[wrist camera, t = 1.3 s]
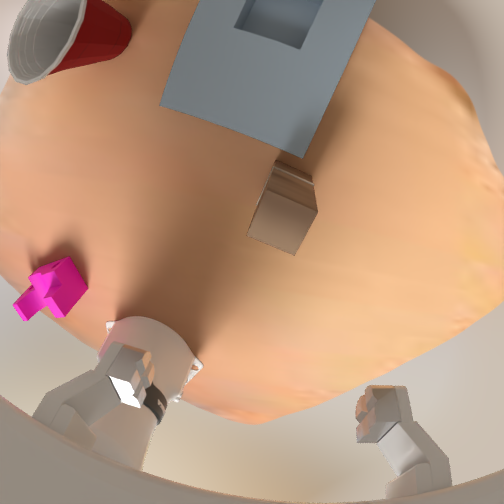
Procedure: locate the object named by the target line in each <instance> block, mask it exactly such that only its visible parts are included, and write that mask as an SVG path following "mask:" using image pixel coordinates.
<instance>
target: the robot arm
mask: <svg viewBox="0 0 504 504" xmlns="http://www.w3.org/2000/svg"><path fill="white" fill-rule="evenodd" d="M106 327H107V332H108V335H107V337H106V339H105V340H104V342H103V344H102V346H101V348H100V350H99V352H98V354H97V359H98V365H97V367H96V368H95V370H94V371H93V370H89V371H88V372H86V373H84V374H82V375H80V376H78V377H76V378H74V379H72V380H70V381H69V382H67V383H65V384H63V385H61V386H59V387H57V388H55V389H53V390H51V391H49V392H48V393H46V395H45V396H44V398H43V399H42V401H41V403H40V404H39V406H38V408H37V409H36V411H35V413H34V414H33V416H32V417H31V416H29V415H28V414H26V413H25V412H23V411H22V410H20V409H19V408H18V407H16V406H15V405H13V404H12V403H11V402H9V401H8V400H6V399H5V398H4V397H2V396H1V395H0V504H504V469H502V470H500V471H497V472H495V473H492V474H489V475H486V476H484V477H481V478H478V479H475V480H472V481H469V482H465V483H462V484H459V485H455V486H452V480H451V472H450V465H449V458H448V457H447V456H446V455H445V453H444V452H443V451H442V450H441V449H440V448H439V447H438V445H437V444H436V443H435V442H434V441H433V440H432V439H431V437H430V436H429V435H428V434H427V433H426V432H425V431H424V430H423V428H422V427H421V426H420V425H419V424H418V423H417V422H416V421H413V417H412V412H411V407H410V401H409V397H408V392H407V388H406V387H405V386H384V385H382V386H381V385H380V386H379V385H370V386H367V388H366V389H365V395H363V396H361V397H360V398H359V400H358V402H357V406H356V419H357V421H358V422H359V423H360V424H359V425H358V427H357V428H356V431H357V443H377V446H378V447H379V449H380V450H381V452H382V453H383V455H384V457H385V458H386V460H387V461H388V463H389V465H390V466H391V468H392V469H393V471H394V472H395V474H396V476H397V478H395V479H394V480H392V481H390V482H389V483H388V484H387V485H386V499H382V500H373V501H361V502H343V503H305V502H304V503H303V502H286V501H274V500H264V499H256V498H249V497H242V496H236V495H230V494H224V493H219V492H214V491H209V490H205V489H201V488H196V487H192V486H188V485H184V484H181V483H177V482H174V481H170V480H167V479H164V478H161V477H157V476H154V475H151V474H148V473H146V472H143V471H142V470H143V464H144V460H145V457H146V454H147V451H148V448H149V444H150V442H151V439H152V436H153V433H154V430H155V427H156V425H158V424H159V423H160V422H161V420H162V418H163V417H164V414H165V410H166V407H167V404H168V403H169V402H171V401H172V400H173V401H175V402H179V400H180V398H181V396H182V394H183V388H184V386H185V385H186V384H187V383H188V382H189V381H190V380H191V379H192V378H193V377H194V376H195V375H196V374H197V373H198V372H199V371H200V370H201V369H202V368H203V364H202V362H201V361H200V360H199V359H198V358H196V357H195V356H194V355H193V353H192V352H191V350H190V348H189V347H188V345H187V344H186V342H185V341H184V340H183V339H182V338H181V337H180V336H179V335H178V334H177V333H176V332H175V331H174V330H172V329H171V328H170V327H168V326H166V325H165V324H163V323H161V322H159V321H156V320H154V319H151V318H147V317H142V316H131V317H126V318H124V319H121V320H119V321H107V322H106ZM108 328H111V330H110V331H109V330H108ZM192 365H195V366H197V367H198V368H199V369H198V370H193V369H191V368H192Z"/></svg>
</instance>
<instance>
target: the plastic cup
mask: <svg viewBox="0 0 504 504" xmlns="http://www.w3.org/2000/svg"><path fill="white" fill-rule="evenodd" d="M131 32H132V28H131V25H130V22H129V21H128V19H126V18H125V17H124V16H123V15H121V14H120V13H119V12H117V11H116V10H115V9H114V8H112V7H111V6H110V5H108V4H107V3H105V2H104V1H102V0H28V1H27V2H26V4H25V5H24V7H23V8H22V10H21V12H20V13H19V15H18V16H17V19H16V21H15V24H14V26H13V29H12V32H11V34H10V39H9V45H8V51H7V57H8V67H9V71H10V73H11V75H12V76H13V78H14V80H15V81H16V82H19V83H22V84H25V85H28V84H30V83H33V82H36V81H38V80H41V79H44V78H45V77H46V76H47V75H50V74H53V73H56V72H59V71H62V70H66V69H70V68H75V67H79V66H84V65H89V64H93V63H97V62H101V61H106V60H111V59H112V58H115V57H116V56H118V55H119V54H121V53H122V52H123V51H124V49H125V48H126V47H127V46H128V43H129V41H130V39H131Z"/></svg>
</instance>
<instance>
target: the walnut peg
mask: <svg viewBox="0 0 504 504" xmlns="http://www.w3.org/2000/svg"><path fill="white" fill-rule="evenodd" d="M256 205H257V207H256V210H255V213H254V215H253V218H252V221H251V224H250V227H249V230H248V233H247V236H248V237H251V238H253V239H256V240H258V241H260V242H263V243H265V244H268V245H270V246H272V247H275V248H277V249H280V250H282V251H284V252H287V253H289V254H292V255H294V256H295V254H296V252H297V250H298V248H299V247H300V245H301V243H302V241H303V239H304V237H305V236H306V234H307V232H308V230H309V228H310V226H311V224H312V223H313V221H314V219H315V217H316V215H317V213H318V209H317V204H316V198H315V192H314V184H313V181H312V176H311V175H308V174H306V173H304V172H302V171H300V170H297V169H295V168H293V167H291V166H288V165H286V164H284V163H281V162H279V161H277V160H276V161H275V163H274V165H273V167H272V170H271V172H270V174H269V177H268V179H267V181H266V183H265V186H264V188H263V190H262V193H261V195H260V197H259V199H258V202H257V204H256Z"/></svg>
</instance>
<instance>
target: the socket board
mask: <svg viewBox="0 0 504 504" xmlns="http://www.w3.org/2000/svg"><path fill="white" fill-rule="evenodd" d="M375 2H376V0H200V1H199V3H198V6H197V8H196V10H195V12H194V14H193V17H192V19H191V21H190V23H189V26H188V28H187V30H186V33H185V35H184V38H183V40H182V43H181V45H180V48H179V50H178V53H177V56H176V58H175V61H174V64H173V66H172V69H171V72H170V75H169V78H168V80H167V83H166V86H165V89H164V92H163V95H162V99H161V102H160V105H159V106H162V107H166V108H169V109H172V110H176V111H179V112H182V113H185V114H188V115H191V116H194V117H197V118H200V119H203V120H206V121H209V122H212V123H215V124H217V125H220V126H223V127H226V128H229V129H231V130H234V131H237V132H239V133H242V134H244V135H247V136H250V137H252V138H255V139H257V140H260V141H262V142H265V143H267V144H269V145H272V146H274V147H277V148H279V149H281V150H284V151H286V152H288V153H291V154H293V155H295V156H297V157H300V158H302V159H303V157H304V155H305V153H306V151H307V149H308V147H309V144H310V142H311V140H312V138H313V136H314V134H315V132H316V129H317V127H318V125H319V123H320V121H321V119H322V117H323V114H324V112H325V110H326V108H327V106H328V104H329V102H330V99H331V97H332V95H333V93H334V91H335V89H336V86H337V84H338V82H339V80H340V78H341V76H342V74H343V71H344V69H345V67H346V65H347V63H348V61H349V58H350V56H351V54H352V52H353V50H354V47H355V45H356V43H357V41H358V39H359V37H360V34H361V32H362V30H363V28H364V26H365V23H366V21H367V19H368V17H369V15H370V12H371V10H372V8H373V6H374V4H375Z"/></svg>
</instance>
